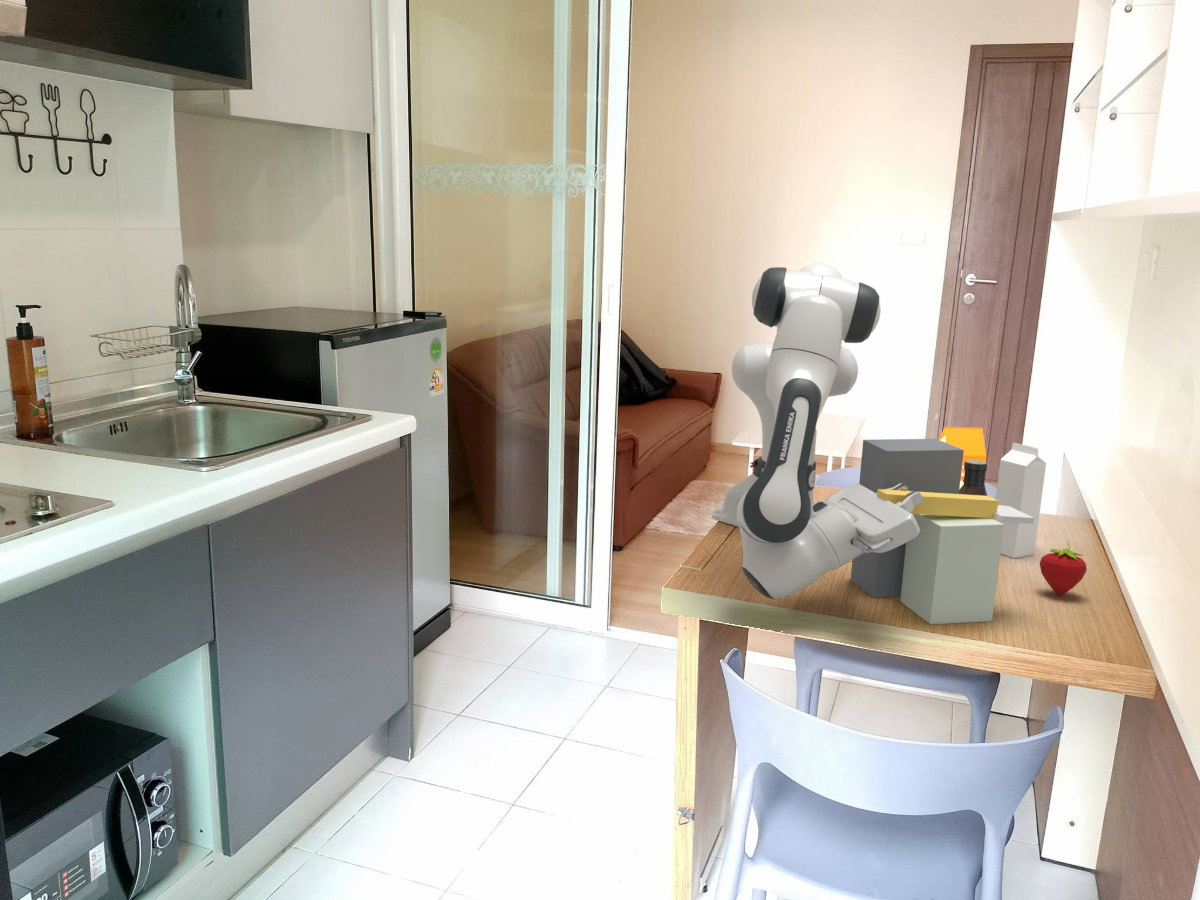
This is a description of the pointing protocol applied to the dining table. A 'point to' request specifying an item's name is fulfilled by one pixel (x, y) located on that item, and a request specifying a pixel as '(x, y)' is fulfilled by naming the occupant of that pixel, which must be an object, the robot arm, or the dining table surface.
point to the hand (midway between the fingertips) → (912, 491)
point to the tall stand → (919, 470)
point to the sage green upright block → (952, 568)
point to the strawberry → (1062, 570)
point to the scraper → (959, 506)
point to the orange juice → (966, 443)
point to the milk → (1020, 497)
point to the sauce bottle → (974, 478)
